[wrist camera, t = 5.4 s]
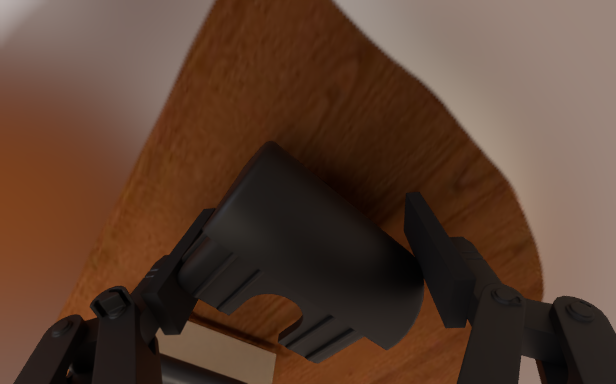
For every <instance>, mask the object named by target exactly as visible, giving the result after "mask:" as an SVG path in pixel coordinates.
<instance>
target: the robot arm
mask: <svg viewBox="0 0 616 384" xmlns="http://www.w3.org/2000/svg"><path fill="white" fill-rule="evenodd" d="M214 211H215V208H212V209H204V210H203V211H202V212H201V214H200V215H199V216H198V217H197V219H196V220H195V221H194V223H193V224H192V225H191V227H190V228H189V229H188V231H187V232H186V233H185V235H184V236H183V237H182V239H181V240H180V241H179V243H178V244H177V245H176V247H175V248H174V249H173V251H172V252H171V253H170V255H165V256H163V257H162V258H161V259H160V260H158V261H157V262H156V263H155V264H154V265H153V267H152V268H151V269H150V271H149V272H148V273H147V274H146V276H145V278H143V279H142V281H141V282H140V283H139V284H138V286H137V287H136V288H135V289H134V291H133V292H132V293H131V295H130V294H129V293H128V291H127V289H126V288H125V287H123V286H115V287H112V288H109V289H107V290H105V291H104V292H102V293H101V294H99V295H98V296H97V297H96V298H95V299H94V300H93V301H92V303H91V305H90V308H91V309H92V310H93V312H94V313H95V314H96V316H97V318H94V319H90V320H87V321H84V320H83V318H82V317H81V316H80V315H70V316H68V317H65V318H63V319H61V320H60V321H58V322H56V323H55V324H54V325H52V326H51V327H50V328H49V329H48V330H47V331H46V333H45V334H44V335H43V337H42V339H41V340H40V342H39V343H38V345H37V346H36V348H35V350H34V351H33V353H32V355H31V356H30V358H29V359H28V361H27V363H26V364H25V366H24V367H23V369H22V371H21V373H20V374H19V375H18V377H17V379H16V380H15V382H14V383H13V384H163V381H162V372H161V363H160V353H159V344H158V339H157V337H156V335H155V334H156V333H157V331H158V329H159V328H161V330H162V332H163V333H164V335H180V334H181V332H182V330H183V328H184V326H185V324H186V322H187V320H188V318H189V316H190V314H191V312H192V310H193V309H194V307H195V305H196V303H197V301H198V298H195V297H193V296H192V295H191V294H189V293H188V292H186V291H184V290H183V289H181V288H180V287H179V285H178V284H177V281H176V275H177V273H178V271H179V270H180V268H181V267H182V265H183V263H182V257H183V255H184V254H185V253H186V252H187V251H188V249H189V248H190V247H191V246H192V245H193V244H194V242H195V241H196V240H197V239H198V238H199V236H200V235H201V234H202V231H201V229H202V227H203V226H204V225H205V224H206V222H207V221H208V220H209V218H210V217H211V215H212V214H213V212H214ZM404 233H405V235H406V237H407V240H408V242H409V244H410V247H411V249H412V251H413V254H414V256H415V258H416V259H417V261H418V263H419V265H420V267H421V270H422V273H423V276H424V279H425V282H426V284H427V286H428V289H429V291H430V293H431V296H432V298H433V300H434V303H435V305H436V307H437V310H438V312H439V314H440V317H441V319H442V321H443V323H444V326H445V328H465V326H466V321H467V319H468V321H469V323H470V324H471V326H472V330H471V333H470V337H469V341H468V344H467V348H466V352H465V355H464V359H463V362H462V366H461V370H460V373H459V377H458V381H457V384H518V380H519V371H520V362H521V355H523V356H527V357H530V358H534V359H535V360H536V364H537V368H538V372H539V376H540V379H541V383H542V384H616V333H615V331H614V330H613V328H612V326H611V324H610V322H609V320H608V319H607V317H606V316H605V315H604V314H603V312H602V311H601V310H599V309H598V308H597V307H595V306H594V305H592V304H590V303H588V302H586V301H584V300H582V299H579V298H575V297H570V296H562V297H557V298H556V300H555V301H554V302H553V304H549V303H544V302H539V301H534V300H530V299H526V298H524V297H523V296H522V295H521V294H520V293H519V292H518V291H516V290H515V289H514V288H511V287H509V286H507V285H504V284H502V282H501V281H500V280H499V278H498V277H497V276H496V274H495V273H494V272H493V270H492V269H491V268H490V266H489V265H488V264H487V262H486V261H485V260H484V259H483V257H482V256H481V254H480V253H478V250H477V249H476V248H475V246H474V245H473V244H472V243H471V242H470V241H468V240H467V239H465V238H464V237H449V236H448V235H447V233H446V232H445V230H444V229H443V227H442V226H441V224H440V223H439V221H438V220H437V218H436V216H435V215H434V213H433V212H432V210H431V209H430V207H429V206H428V204H427V203H426V201H425V200H424V198H423V197H422V195H421V194H420V192H412V193H406V199H405V218H404ZM68 369H69V370H70V371H69V373H68V375H67V371H68ZM66 375H67V376H66Z"/></svg>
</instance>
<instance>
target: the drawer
mask: <svg viewBox="0 0 616 384" xmlns="http://www.w3.org/2000/svg"><path fill="white" fill-rule="evenodd" d="M155 335H156V337H157V339H158V344H159V353H160V363H161V372H162V381H163V384H272V380H273V373H274V367H275V360H276V354H274V353H271V352H269V351H266V350H264V349H261V348H258V347H256V346H253V345H250V344H248V343H245V342H242V341H240V340H237V339H235V338H232V337H229V336H227V335H224V334H221V333H219V332H216V331H214V330H211V329H208V328H206V327H203V326H200V325H198V324H195V323H192V322H190V321H187V322H186V324H185V326H184V328H183V330H182V332H181V334H180V335H164V333H163V332H162V330H161V328H159V329H158V331H157V333H156V334H155Z"/></svg>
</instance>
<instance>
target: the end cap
mask: <svg viewBox="0 0 616 384" xmlns="http://www.w3.org/2000/svg"><path fill="white" fill-rule="evenodd" d="M201 231H202V234H201V235H200V236H199V238H198V239H197V240H196V241H195V242H194V244H193V245H192V246H191V247H190V248H189V249H188V251H187V252H186V253H185V254H184V255H183V257H182V263H183V265H182V267H181V268H180V270H179V271H178V273H177V275H176V281H177V284H178V285H179V287H180V288H181V289H183V290H184V291H186V292H188V293H189V294H191V295H192V296H193V297H195V298H198V299H200V300H202V301H204V302H206V303H207V304H209V305H211V306H213V307H215V308H216V309H217V310H219V311H220V312H221V311H222V312H224V313H226V314H227V315H230V314H231V313H233V312H234V311H235V310H236V309H237V308H238V307H240V306H241V305H242V304H243V303H244V302H245V301H246V300H248V299H249V298H251V297H253V296H256V295H260V294H276V295H280V296H283V297H286V298H288V299H290V300H292V301H293V302H295V303H296V304H297V305H298V306H299V307H300V309H301V311H302V313H303V315H302V316H301V318H300V319H299V320H298V321H296V322H295V323H294V324H292V325H291V326H289V327H288V328H287V329H285V330H284V331H282V332H281V333H280V334H279V337H278V343H280V344H281V345H283V346H285V347H286V348H287V349H289V350H292V351H294V352H296V353H298V354H299V355H301V356H303V357H305V358H306V359H307V360H309V361H312V362H314V363H320V362H322V361H323V360H325V359H327V358H328V357H330V356H332V355H334V354H335V353H337V352H339V351H340V350H342V349H344V348H345V347H347V346H349V345H351V344H352V343H354V342H356V341H357V340H359V339H361V338H362V337H364V336H365V337H366V338H368V339H370V340H371V341H373V342H374V343H376V344H377V345H379V346H381V347H382V348H384V349H385V350H389V349H390V348H392V347H393V346H395V345H396V344H397V343H399V341H400V340H401V339H402V338H403V337H404V336H405V335H406V334H407V333H408V332H409V330H410V329H411V327H412V326H413V324H414V323H415V320H416V318H417V316H418V314H419V312H420V309H421V305H422V302H423V296H424V276H423V273H422V270H421V267H420V265H419V263H418V261H417V259H416V258H415V257H414V256H413V255H412V254H411V253H410V252H409V251H408V250H406V249H405V248H404V247H403V246H402V245H400V244H399V243H398V242H397V241H395V240H394V239H393V238H392V237H391V236H389V235H388V234H387V233H386V232H384V231H383V230H382V229H381V228H380V227H378V226H377V225H376V224H375V223H373V222H372V221H371V220H370V219H369V218H367V217H366V216H365V215H364V214H362V213H361V212H360V211H359V210H358V209H356V208H355V207H354V206H353V205H351V204H350V203H349V202H348V201H347V200H345V199H344V198H343V197H342V196H340V195H339V194H338V193H337V192H336V191H334V190H333V189H332V188H331V187H329V186H328V185H327V184H326V183H325V182H323V181H322V180H321V179H320V178H318V177H317V176H316V175H315V174H314V173H312V172H311V171H310V170H309V169H307V168H306V167H305V166H304V165H303V164H301V163H300V162H299V161H298V160H296V159H295V158H294V157H293V156H292V155H290V154H289V153H288V152H287V151H285V150H284V149H283V148H282V147H281V146H279V145H278V144H277V143H276V142H274V141H268V142H266V143H265V144H264V145H263V146H262V147H261V148H260V149H259V150H258V151H257V152H256V153H255V155H254V156H253V157H252V158H251V159H250V160H249V162H248V163H247V164H246V165H245V167H244V168H243V169H242V171H241V172H240V174H239V175H238V177H237V178H236V180H235V181H234V183H233V184H232V186H231V187H230V189H229V190H228V192H227V193H226V195H225V196H224V198H223V199H222V201H221V202H220V204H219V205H218V206H217V208H216V209H215V211H214V212H213V214H212V215H211V217H210V218H209V220H208V221H207V222H206V224H205V225H204V226H203V227H202V229H201Z"/></svg>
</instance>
